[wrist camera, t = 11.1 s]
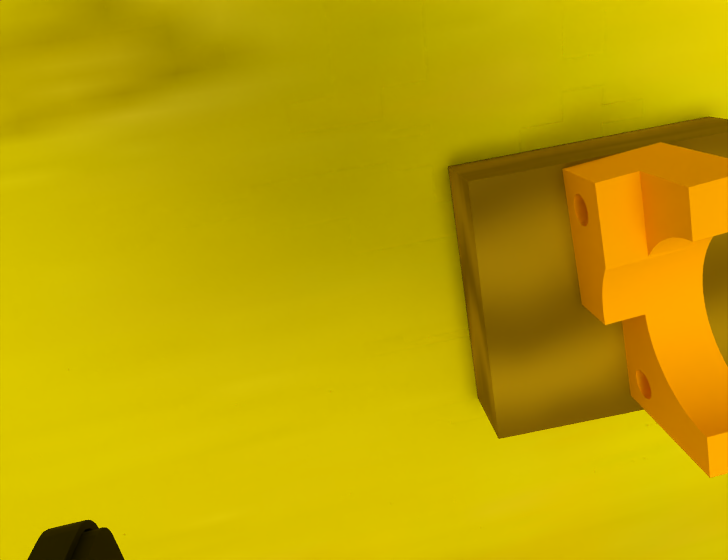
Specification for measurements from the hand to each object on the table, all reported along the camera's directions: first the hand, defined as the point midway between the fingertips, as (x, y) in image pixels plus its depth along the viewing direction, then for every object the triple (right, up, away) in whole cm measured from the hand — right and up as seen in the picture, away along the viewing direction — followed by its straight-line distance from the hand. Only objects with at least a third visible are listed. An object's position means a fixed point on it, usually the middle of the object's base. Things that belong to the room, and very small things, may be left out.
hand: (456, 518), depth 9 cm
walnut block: (+10, +4, +24) cm, 26 cm away
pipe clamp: (+11, +3, +20) cm, 23 cm away
